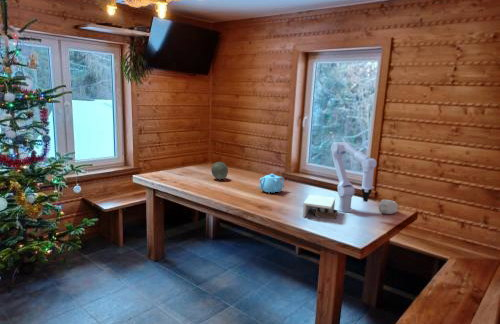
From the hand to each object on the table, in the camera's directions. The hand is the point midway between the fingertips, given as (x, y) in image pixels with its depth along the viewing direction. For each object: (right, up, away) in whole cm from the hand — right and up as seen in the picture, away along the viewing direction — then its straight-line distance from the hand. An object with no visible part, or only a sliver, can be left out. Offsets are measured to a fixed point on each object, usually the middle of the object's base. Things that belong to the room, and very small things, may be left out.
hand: (365, 201), depth 206 cm
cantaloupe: (-94, +8, +85) cm, 127 cm away
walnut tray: (-22, -9, +4) cm, 24 cm away
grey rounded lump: (+19, -9, +14) cm, 25 cm away
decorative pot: (-53, +1, +54) cm, 75 cm away
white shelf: (-27, -8, +6) cm, 28 cm away
